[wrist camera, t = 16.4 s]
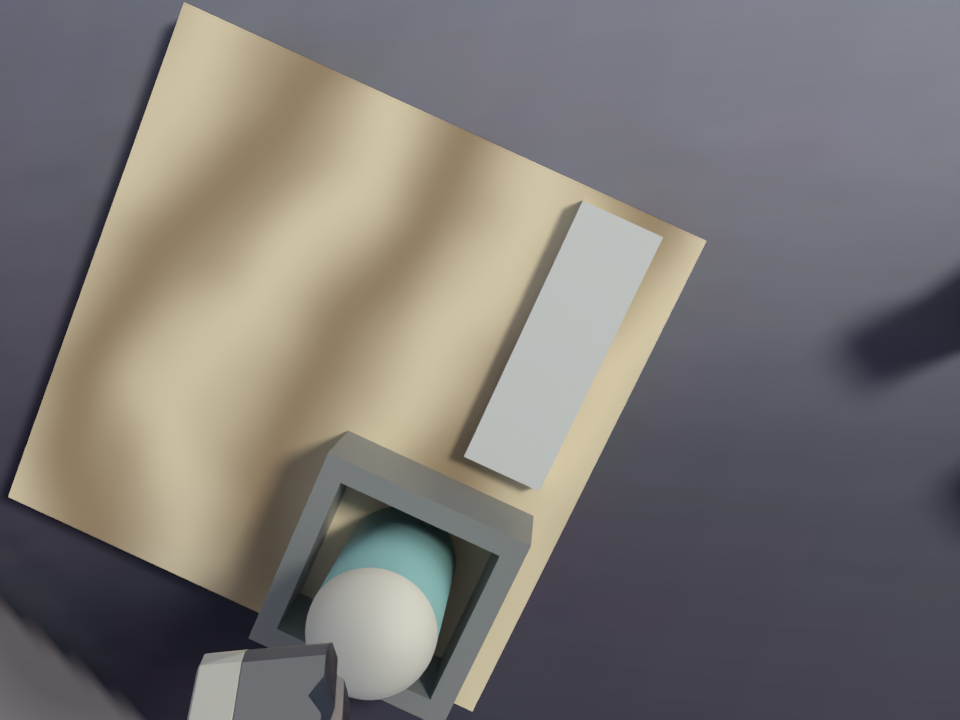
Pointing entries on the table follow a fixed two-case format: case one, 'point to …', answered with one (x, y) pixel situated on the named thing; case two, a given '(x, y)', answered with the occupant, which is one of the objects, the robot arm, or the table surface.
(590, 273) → the plank
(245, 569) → the board
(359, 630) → the capsule
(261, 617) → the frame
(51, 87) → the table surface
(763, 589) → the table surface
